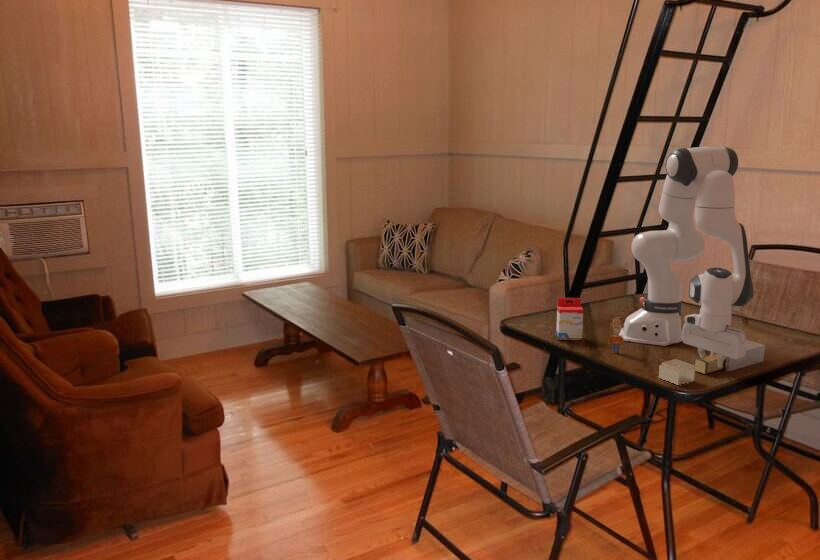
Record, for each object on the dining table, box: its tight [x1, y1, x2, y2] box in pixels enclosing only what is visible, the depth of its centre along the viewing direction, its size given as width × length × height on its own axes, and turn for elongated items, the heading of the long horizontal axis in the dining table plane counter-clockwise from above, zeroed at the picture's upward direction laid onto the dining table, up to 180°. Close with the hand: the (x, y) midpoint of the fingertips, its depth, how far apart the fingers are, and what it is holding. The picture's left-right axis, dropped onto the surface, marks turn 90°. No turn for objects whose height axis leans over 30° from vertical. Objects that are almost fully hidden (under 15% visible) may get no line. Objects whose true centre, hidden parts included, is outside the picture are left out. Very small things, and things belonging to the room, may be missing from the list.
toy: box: [607, 316, 625, 354], centre depth 224 cm, size 5×3×13 cm, turn 59°
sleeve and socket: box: [658, 339, 766, 386], centre depth 208 cm, size 40×7×5 cm, turn 119°
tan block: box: [694, 354, 726, 375], centre depth 210 cm, size 22×4×4 cm, turn 119°
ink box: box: [555, 297, 584, 339], centre depth 240 cm, size 8×5×15 cm, turn 88°
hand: (711, 364), depth 207 cm, fingers closed on tan block, 4 cm apart
